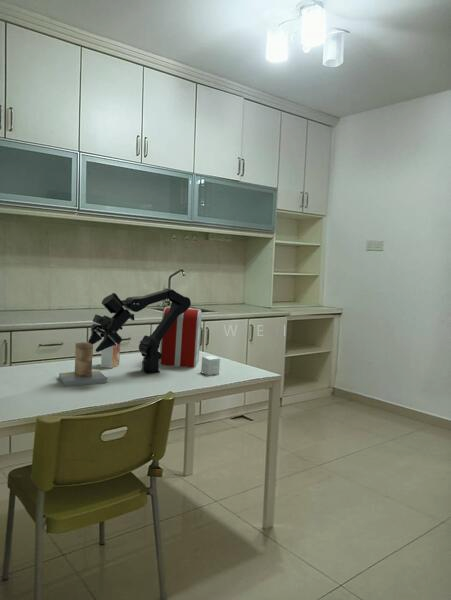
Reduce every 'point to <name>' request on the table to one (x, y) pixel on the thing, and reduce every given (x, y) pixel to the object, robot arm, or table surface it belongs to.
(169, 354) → the red striped box
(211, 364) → the product box
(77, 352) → the brown block
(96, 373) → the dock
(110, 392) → the table surface
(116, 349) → the small box
